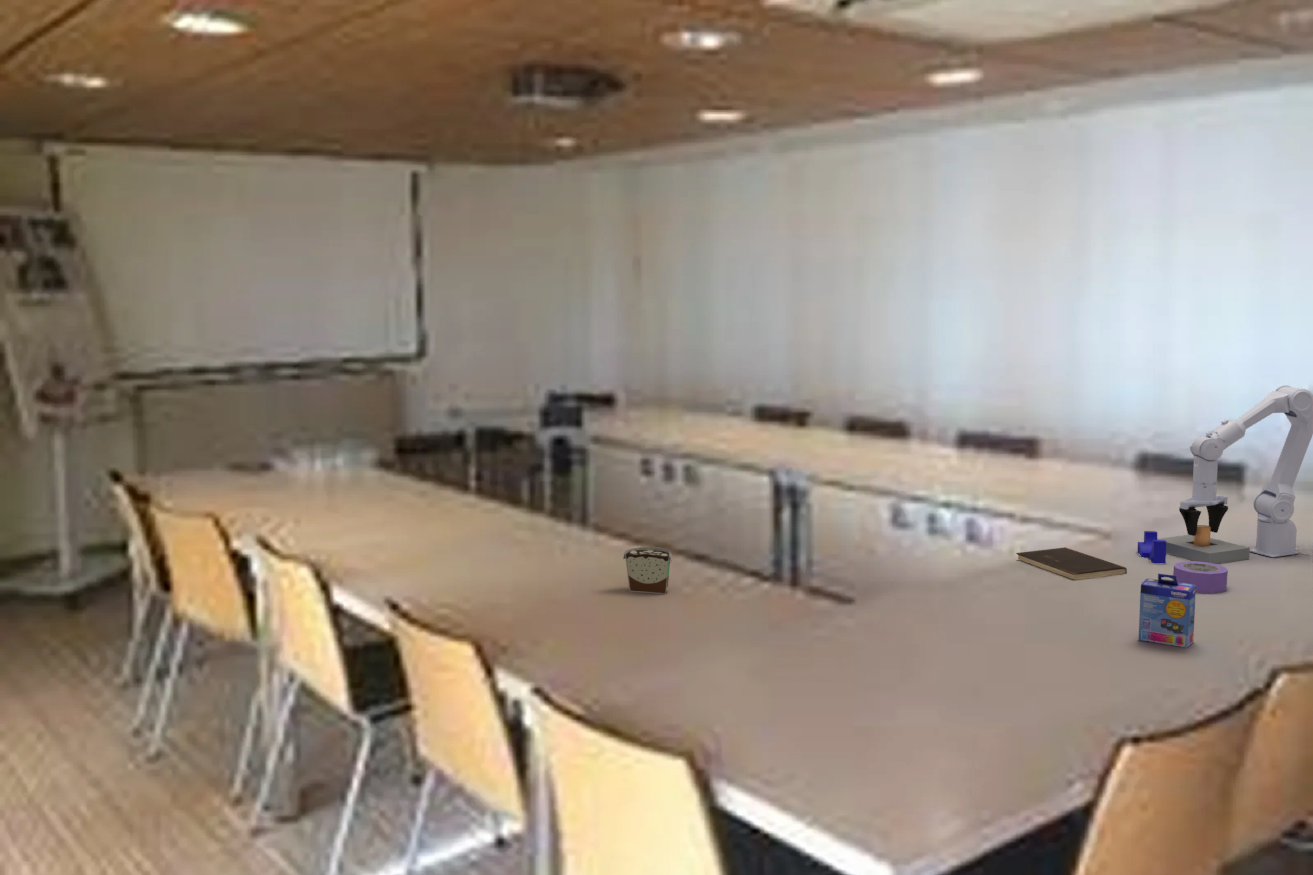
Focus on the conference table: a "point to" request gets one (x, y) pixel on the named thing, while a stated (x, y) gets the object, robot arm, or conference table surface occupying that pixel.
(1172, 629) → the ink cartridge box
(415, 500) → the conference table surface
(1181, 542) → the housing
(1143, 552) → the cable clip
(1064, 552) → the hardcover book
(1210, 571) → the tape roll
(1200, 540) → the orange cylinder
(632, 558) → the food container
